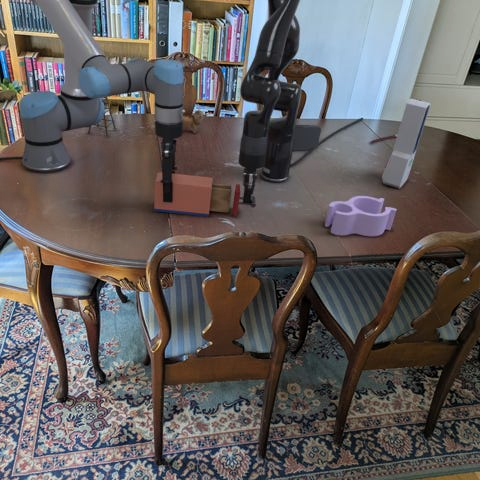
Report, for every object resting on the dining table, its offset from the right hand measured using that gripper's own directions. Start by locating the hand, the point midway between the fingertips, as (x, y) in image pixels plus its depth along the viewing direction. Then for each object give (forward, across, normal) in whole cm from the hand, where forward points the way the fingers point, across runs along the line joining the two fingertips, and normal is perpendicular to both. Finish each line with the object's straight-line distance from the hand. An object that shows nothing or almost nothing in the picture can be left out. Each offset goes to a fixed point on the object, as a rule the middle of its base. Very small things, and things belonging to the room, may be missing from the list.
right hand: (246, 203), depth 141 cm
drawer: (+3, 0, +8) cm, 8 cm away
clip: (+3, -3, -34) cm, 35 cm away
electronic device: (+3, +33, -57) cm, 65 cm away
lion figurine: (+3, +67, +24) cm, 71 cm away
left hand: (0, 0, +23) cm, 23 cm away
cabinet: (+4, 0, +19) cm, 20 cm away
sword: (+2, +79, -69) cm, 105 cm away
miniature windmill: (+4, +58, +57) cm, 82 cm away
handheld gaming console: (+3, +56, -20) cm, 59 cm away
